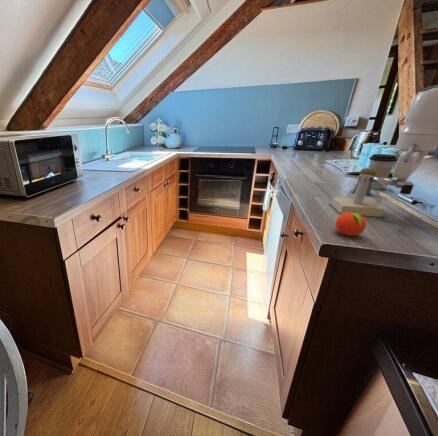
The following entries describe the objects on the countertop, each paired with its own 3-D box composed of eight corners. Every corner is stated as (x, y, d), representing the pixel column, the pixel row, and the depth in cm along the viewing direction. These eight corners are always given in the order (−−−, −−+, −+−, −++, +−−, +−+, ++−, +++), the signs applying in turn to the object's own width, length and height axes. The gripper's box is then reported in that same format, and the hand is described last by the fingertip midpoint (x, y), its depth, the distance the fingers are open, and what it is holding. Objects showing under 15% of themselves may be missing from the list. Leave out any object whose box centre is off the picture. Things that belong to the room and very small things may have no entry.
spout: (412, 193, 77) (416, 181, 76) (407, 195, 75) (412, 183, 74) (358, 184, 88) (362, 173, 87) (354, 185, 87) (357, 175, 85)
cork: (368, 192, 109) (377, 167, 104) (371, 196, 104) (380, 170, 100) (351, 190, 112) (359, 166, 107) (353, 194, 107) (361, 169, 103)
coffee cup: (386, 191, 109) (398, 157, 103) (359, 187, 115) (369, 155, 109) (386, 187, 116) (398, 154, 110) (361, 183, 122) (371, 153, 116)
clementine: (369, 242, 68) (378, 219, 65) (341, 240, 69) (348, 217, 66) (353, 230, 75) (360, 208, 72) (328, 228, 76) (334, 207, 73)
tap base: (368, 207, 92) (378, 178, 88) (381, 217, 83) (393, 186, 79) (331, 204, 96) (338, 177, 91) (340, 213, 87) (349, 183, 83)
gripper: (427, 147, 66) (407, 196, 71) (434, 141, 78) (417, 183, 83) (396, 145, 71) (379, 191, 76) (407, 140, 82) (392, 180, 88)
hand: (399, 187), depth 80 cm, fingers closed
